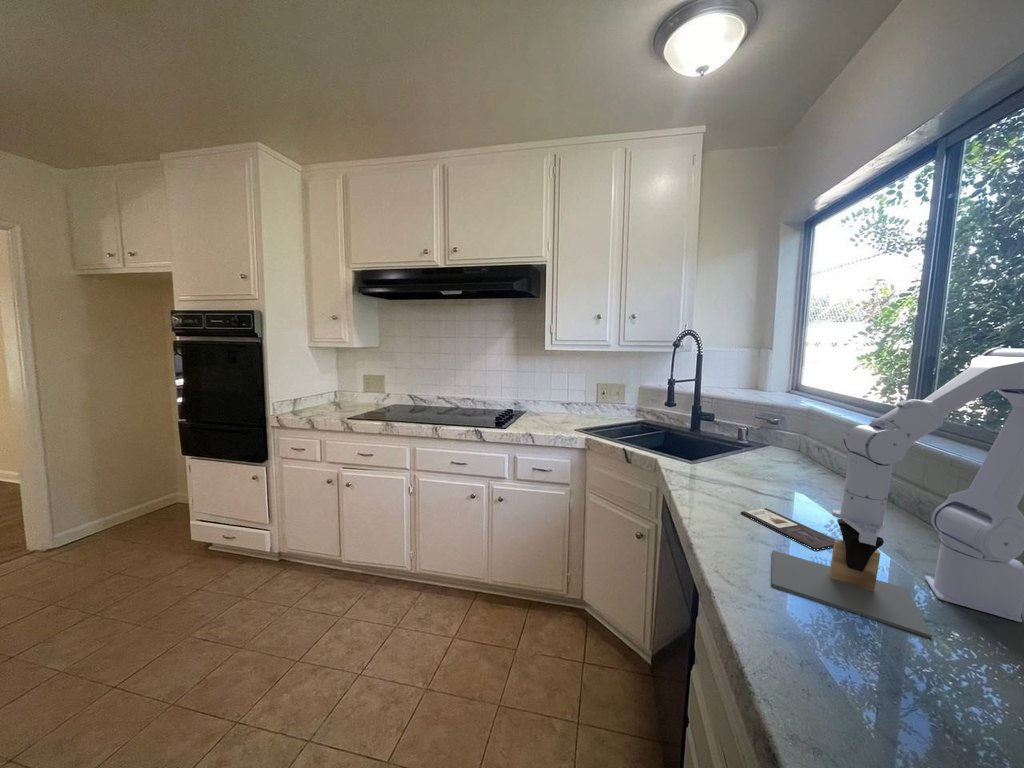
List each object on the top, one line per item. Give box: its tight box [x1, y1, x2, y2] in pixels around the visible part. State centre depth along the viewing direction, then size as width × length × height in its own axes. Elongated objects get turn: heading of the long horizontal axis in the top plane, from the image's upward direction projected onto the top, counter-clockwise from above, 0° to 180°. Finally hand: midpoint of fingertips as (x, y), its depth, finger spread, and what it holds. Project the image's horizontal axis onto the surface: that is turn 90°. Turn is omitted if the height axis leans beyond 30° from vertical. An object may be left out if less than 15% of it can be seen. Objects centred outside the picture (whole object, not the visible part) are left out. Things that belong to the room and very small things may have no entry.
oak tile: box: [830, 538, 881, 591], centre depth 70 cm, size 6×2×7 cm, turn 56°
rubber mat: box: [771, 550, 933, 639], centre depth 69 cm, size 20×14×1 cm
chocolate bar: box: [740, 508, 836, 550], centre depth 92 cm, size 9×1×18 cm
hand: (853, 565), depth 70 cm, fingers closed on oak tile, 2 cm apart
